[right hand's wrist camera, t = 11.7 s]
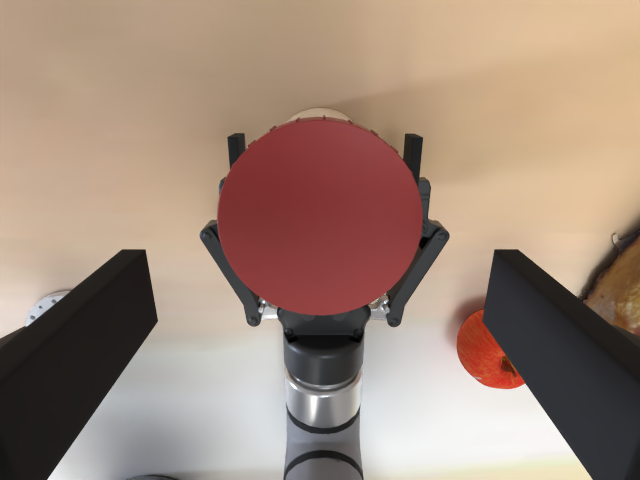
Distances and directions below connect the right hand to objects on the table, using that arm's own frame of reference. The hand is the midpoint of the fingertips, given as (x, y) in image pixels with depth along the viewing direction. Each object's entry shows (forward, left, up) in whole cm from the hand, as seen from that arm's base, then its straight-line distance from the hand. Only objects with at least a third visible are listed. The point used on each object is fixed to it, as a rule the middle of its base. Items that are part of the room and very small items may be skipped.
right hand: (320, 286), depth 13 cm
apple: (+7, +25, -26) cm, 37 cm away
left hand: (-3, -1, -19) cm, 19 cm away
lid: (0, 0, -6) cm, 6 cm away
